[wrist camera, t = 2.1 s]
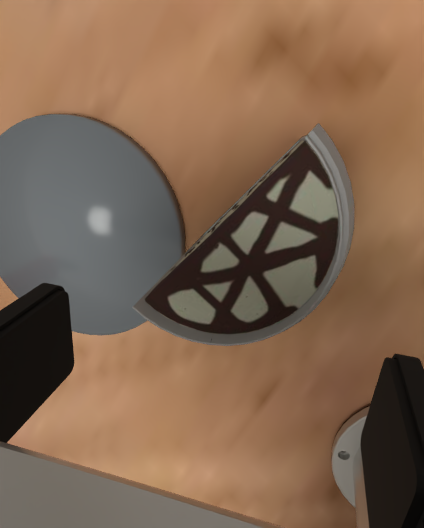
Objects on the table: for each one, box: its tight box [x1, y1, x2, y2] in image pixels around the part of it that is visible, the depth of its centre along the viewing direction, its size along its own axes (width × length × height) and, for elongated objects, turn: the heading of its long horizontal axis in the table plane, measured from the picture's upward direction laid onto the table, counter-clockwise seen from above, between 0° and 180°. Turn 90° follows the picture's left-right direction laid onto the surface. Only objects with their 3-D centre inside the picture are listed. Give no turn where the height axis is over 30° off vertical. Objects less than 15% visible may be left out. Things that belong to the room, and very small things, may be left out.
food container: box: [132, 123, 354, 346], centre depth 22 cm, size 12×6×10 cm, turn 136°
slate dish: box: [0, 114, 185, 335], centre depth 30 cm, size 17×17×1 cm
